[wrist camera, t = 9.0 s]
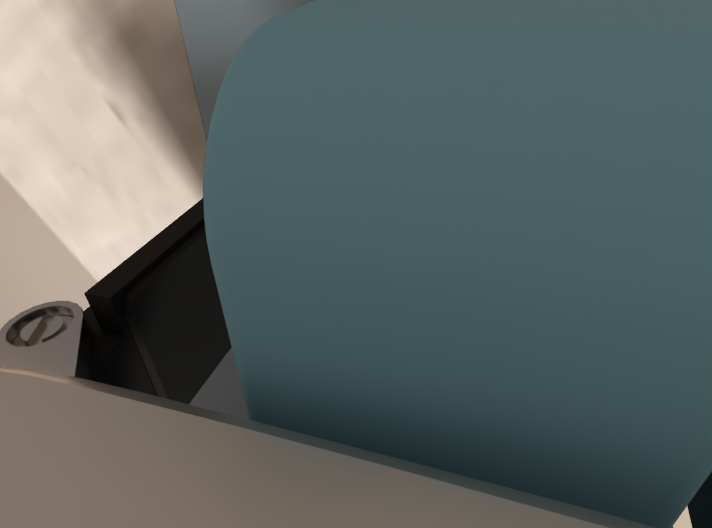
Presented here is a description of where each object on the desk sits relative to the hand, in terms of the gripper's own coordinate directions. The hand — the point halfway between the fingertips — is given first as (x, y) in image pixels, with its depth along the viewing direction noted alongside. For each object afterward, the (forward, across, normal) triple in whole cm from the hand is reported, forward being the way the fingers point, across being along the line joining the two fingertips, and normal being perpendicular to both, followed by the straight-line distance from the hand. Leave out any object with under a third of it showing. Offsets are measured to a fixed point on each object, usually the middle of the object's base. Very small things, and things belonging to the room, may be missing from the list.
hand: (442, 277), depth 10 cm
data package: (+7, 0, 0) cm, 7 cm away
